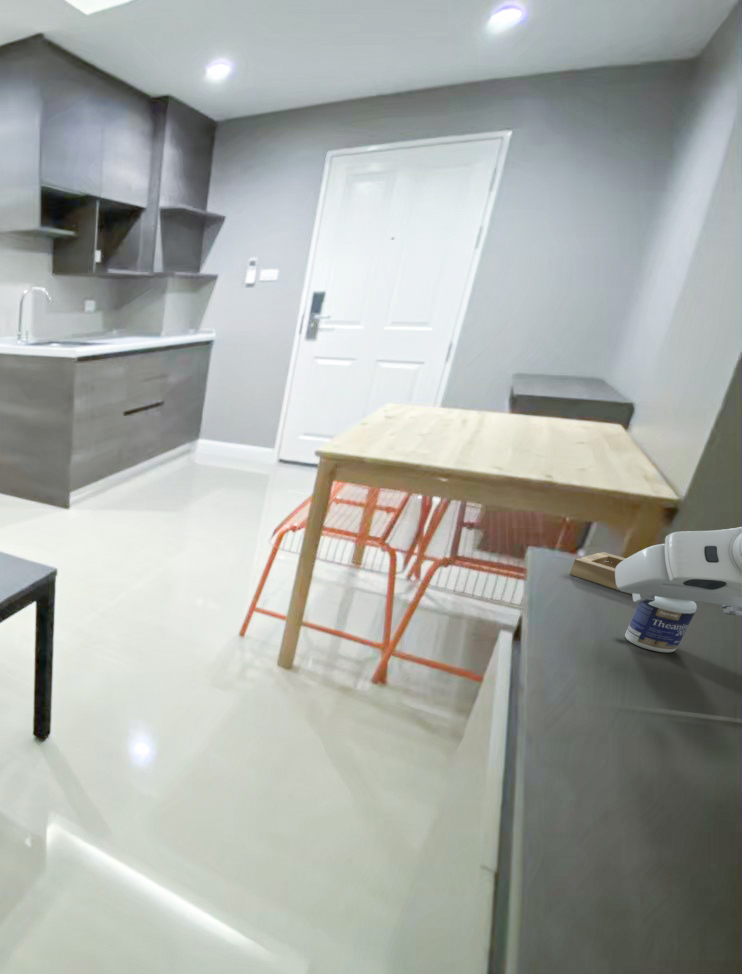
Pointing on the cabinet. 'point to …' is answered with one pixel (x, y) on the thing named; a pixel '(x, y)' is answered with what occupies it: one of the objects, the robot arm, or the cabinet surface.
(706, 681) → the cabinet surface
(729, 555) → the robot arm
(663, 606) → the pill bottle
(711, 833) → the cabinet surface
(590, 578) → the socket pad
